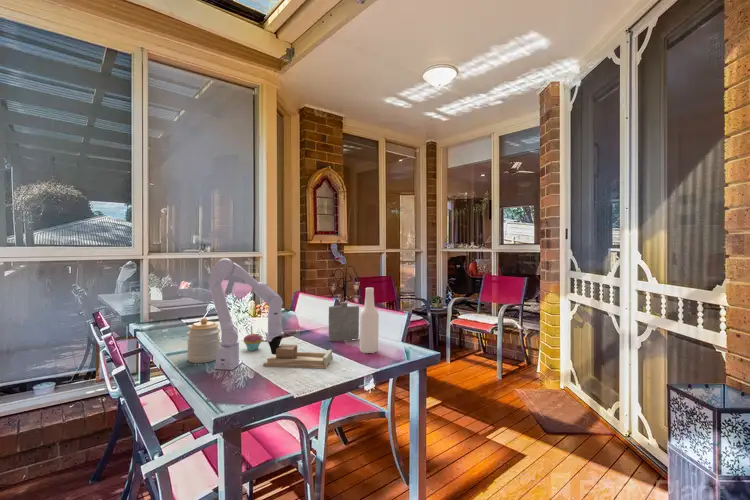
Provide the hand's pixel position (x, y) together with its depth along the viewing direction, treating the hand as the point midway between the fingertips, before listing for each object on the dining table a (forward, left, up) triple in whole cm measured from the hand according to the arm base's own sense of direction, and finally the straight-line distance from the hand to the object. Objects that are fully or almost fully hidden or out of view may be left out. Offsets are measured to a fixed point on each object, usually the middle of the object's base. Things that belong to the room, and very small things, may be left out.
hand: (274, 353), depth 158 cm
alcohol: (+19, -39, -3) cm, 43 cm away
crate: (0, -5, -2) cm, 6 cm away
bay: (0, -11, -3) cm, 11 cm away
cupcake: (+15, +16, -3) cm, 22 cm away
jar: (-1, +31, -3) cm, 31 cm away
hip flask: (+37, -24, -3) cm, 44 cm away
